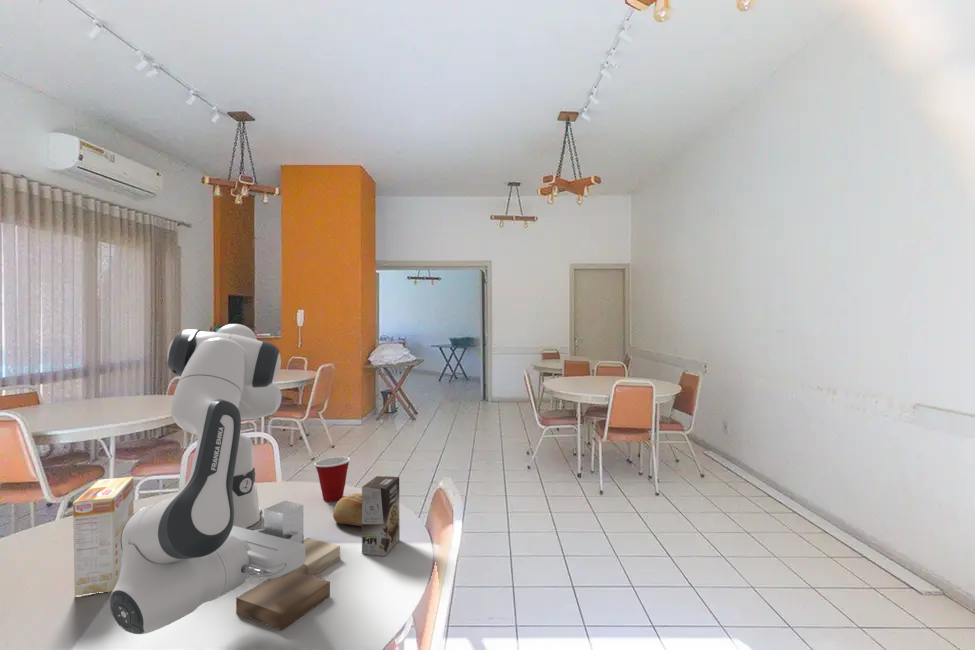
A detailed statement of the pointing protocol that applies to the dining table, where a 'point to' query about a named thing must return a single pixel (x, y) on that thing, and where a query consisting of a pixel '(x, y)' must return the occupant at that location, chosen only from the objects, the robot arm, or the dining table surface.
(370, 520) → the coffee box
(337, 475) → the plastic cup
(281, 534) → the grey tall rectangular block
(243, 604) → the walnut stand
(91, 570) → the coffeecake box
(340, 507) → the bread roll
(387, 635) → the dining table surface
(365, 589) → the dining table surface
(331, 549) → the birch stand
